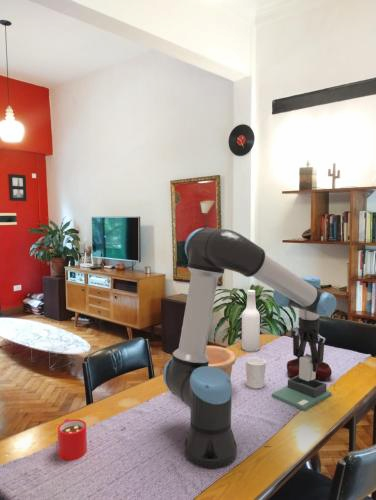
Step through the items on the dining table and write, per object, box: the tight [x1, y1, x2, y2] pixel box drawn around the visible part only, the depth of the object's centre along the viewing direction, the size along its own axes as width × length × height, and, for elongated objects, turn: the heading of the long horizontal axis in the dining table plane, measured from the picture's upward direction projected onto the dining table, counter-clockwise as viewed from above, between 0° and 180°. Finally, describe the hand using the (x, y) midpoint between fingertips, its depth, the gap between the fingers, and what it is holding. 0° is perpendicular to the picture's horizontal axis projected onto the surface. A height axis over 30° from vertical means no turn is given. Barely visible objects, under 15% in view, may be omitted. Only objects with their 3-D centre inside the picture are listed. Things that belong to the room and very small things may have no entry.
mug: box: [57, 418, 88, 462], centre depth 115 cm, size 8×12×8 cm, turn 34°
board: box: [271, 375, 333, 412], centre depth 148 cm, size 18×14×4 cm
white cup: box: [245, 356, 267, 390], centre depth 157 cm, size 8×8×10 cm
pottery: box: [206, 345, 237, 379], centre depth 152 cm, size 22×22×14 cm
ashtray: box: [286, 357, 333, 381], centre depth 168 cm, size 18×16×5 cm
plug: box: [299, 353, 312, 381], centre depth 150 cm, size 5×4×8 cm
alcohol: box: [241, 289, 261, 353], centre depth 197 cm, size 9×9×30 cm
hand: (307, 377), depth 151 cm, fingers closed on plug, 4 cm apart
